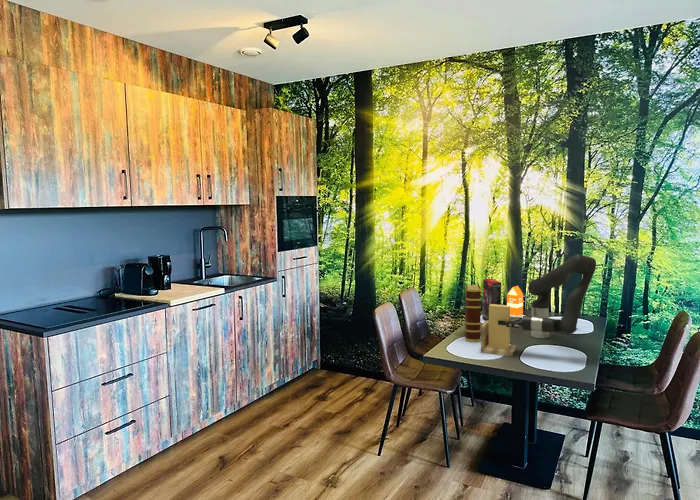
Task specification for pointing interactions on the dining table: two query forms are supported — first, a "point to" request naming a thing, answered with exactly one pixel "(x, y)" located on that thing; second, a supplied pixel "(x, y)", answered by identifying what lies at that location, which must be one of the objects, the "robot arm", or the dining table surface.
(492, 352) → the wooden l-shaped piece
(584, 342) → the dining table surface
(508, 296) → the orange juice
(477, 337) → the decorative book
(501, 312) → the book
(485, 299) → the graphics card box
